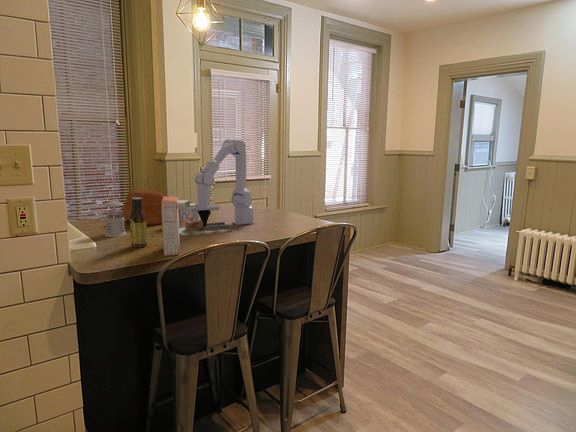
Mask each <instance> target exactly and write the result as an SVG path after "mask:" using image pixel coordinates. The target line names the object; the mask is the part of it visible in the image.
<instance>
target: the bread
mask: <svg viewBox="0 0 576 432" xmlns="http://www.w3.org/2000/svg"><path fill="white" fill-rule="evenodd" d="M137 197H139V198H142V210H143V211H144V212H145V215H146V226H153V225H154V226H155V225H160V224H161V225H162V209H161V202H162V199H163V197H165V195H164V194H163V193H162V192H160V191H157V190H151V189H143V188H141V189H133V190H131V191H130V192H129V193H128V194H127V195H126V197H125V203H123V204H124V205H123V209H122V213H123V214H122V216H124V220H126V221H127V222H130V215H131V212H132V198H137Z"/></svg>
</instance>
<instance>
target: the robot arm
mask: <svg viewBox="0 0 576 432" xmlns="http://www.w3.org/2000/svg"><path fill="white" fill-rule="evenodd" d="M228 155H232V156H233V157H234V158H235V188H234V189H233V191H232V196H231V199H230V201H231V203H232V205H233V207H234V220H233V221H231V223H233V224H235V225H237V226H238V225H250V224H251V225H252V224H255V222H254V208H253V207H252V206H251V204H252V196H251V191H250V190H249V189H248V188H247V151H246V143H245V142H244V141H243V140H242V139H240V138H239V139H231V138H230V139H229V138H227V139H225V140H224V141H223V142H222V143H221V148H220V149H219V151H218V152H217V154H216V155H215V156H214V158H213V159H212V160H211V159H210V160H209V161H208V160H207V162H206V165H205V166H204V167H203V168H202V169H201V171H200V172H198V173H196V175H195V177H194V183H196V189H197V207H190V208H188V212H196V211H198V216H199V218H200V221H202V222H203V226H206V224H207V222H208V220H209V217H210V215H211V211H220V206H219V205H211V198H210V197H211V188H210V187H211V184H212V183H213V179H214V175H216V173H217V172H218V171H219V169H220V164H221V163H222V162H223V161H224V160H225V158H226V157H228Z"/></svg>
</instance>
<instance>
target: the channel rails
mask: <svg viewBox="0 0 576 432" xmlns="http://www.w3.org/2000/svg"><path fill="white" fill-rule="evenodd" d="M221 229H230V223H228V224H227V223H225V221H217V222H208V223H207V224H206V226H203V231H210V230H221Z"/></svg>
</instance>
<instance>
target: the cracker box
mask: <svg viewBox="0 0 576 432" xmlns="http://www.w3.org/2000/svg"><path fill="white" fill-rule="evenodd" d="M164 196H165V195H164ZM178 200H179V197H178V196H175V195H173V196H172V195H168V196H167V195H166V196H165V197H163V199H162V202H161V209H162V223H161V225H162V226H161V229H162V245H163V256H164V257H165V256H166V257H168V256H169V257H170V256H171V257H172V256H180V244H181V243H180V234H179V213H178Z"/></svg>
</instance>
